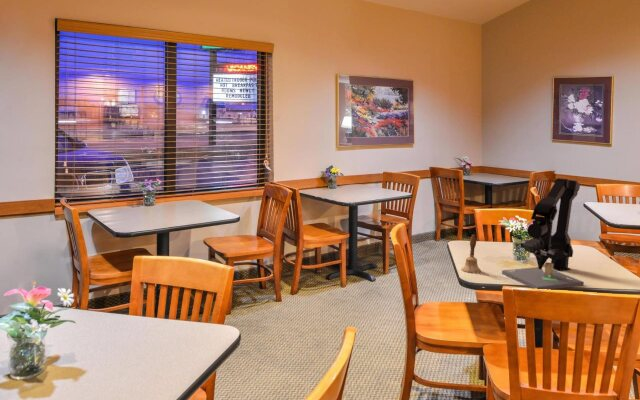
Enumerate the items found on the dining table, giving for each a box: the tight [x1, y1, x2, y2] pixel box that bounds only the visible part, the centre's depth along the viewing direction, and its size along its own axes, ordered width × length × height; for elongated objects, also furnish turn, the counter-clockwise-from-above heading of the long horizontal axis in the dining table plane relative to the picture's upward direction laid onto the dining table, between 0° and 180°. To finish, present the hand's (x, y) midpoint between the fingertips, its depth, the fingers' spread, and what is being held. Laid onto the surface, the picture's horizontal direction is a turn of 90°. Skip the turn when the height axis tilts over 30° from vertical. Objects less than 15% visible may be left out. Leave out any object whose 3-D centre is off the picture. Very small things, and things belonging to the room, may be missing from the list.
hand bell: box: [460, 234, 482, 274], centre depth 221 cm, size 8×8×16 cm
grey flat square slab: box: [501, 266, 585, 290], centre depth 211 cm, size 22×22×2 cm
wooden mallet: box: [542, 261, 554, 277], centre depth 215 cm, size 16×4×5 cm, turn 168°
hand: (540, 268), depth 212 cm, fingers closed
